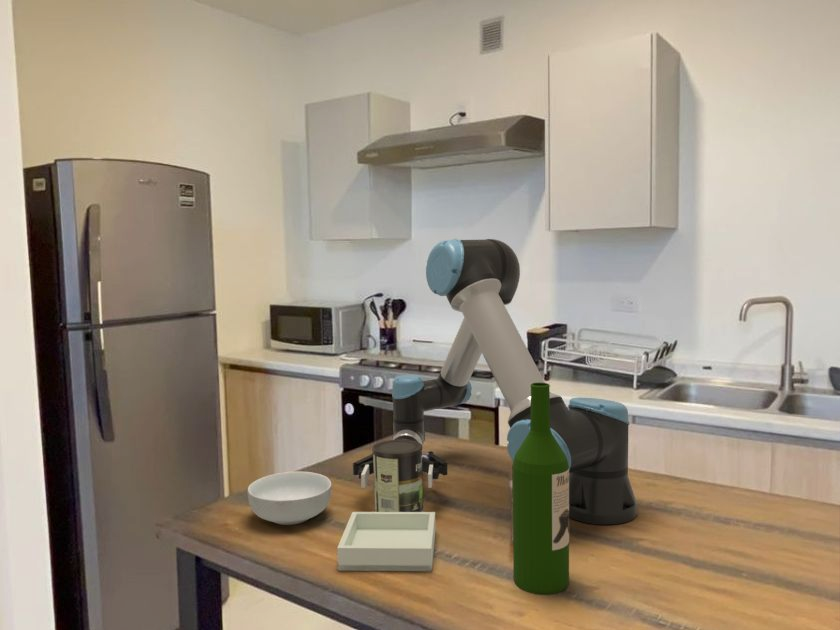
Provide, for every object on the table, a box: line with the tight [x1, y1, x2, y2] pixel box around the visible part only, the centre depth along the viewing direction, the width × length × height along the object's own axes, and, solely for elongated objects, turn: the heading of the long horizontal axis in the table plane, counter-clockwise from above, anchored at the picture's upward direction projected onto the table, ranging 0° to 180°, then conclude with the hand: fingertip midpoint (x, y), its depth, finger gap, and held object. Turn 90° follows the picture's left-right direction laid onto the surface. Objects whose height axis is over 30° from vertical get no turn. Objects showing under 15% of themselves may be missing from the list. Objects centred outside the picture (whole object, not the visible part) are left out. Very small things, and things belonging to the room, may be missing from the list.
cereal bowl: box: [246, 471, 333, 526], centre depth 139 cm, size 17×17×7 cm
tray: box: [336, 511, 436, 572], centre depth 123 cm, size 16×16×4 cm
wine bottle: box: [512, 382, 570, 595], centre depth 109 cm, size 9×9×32 cm
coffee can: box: [371, 439, 425, 512], centre depth 140 cm, size 10×10×14 cm
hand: (396, 481), depth 137 cm, fingers open, 13 cm apart
